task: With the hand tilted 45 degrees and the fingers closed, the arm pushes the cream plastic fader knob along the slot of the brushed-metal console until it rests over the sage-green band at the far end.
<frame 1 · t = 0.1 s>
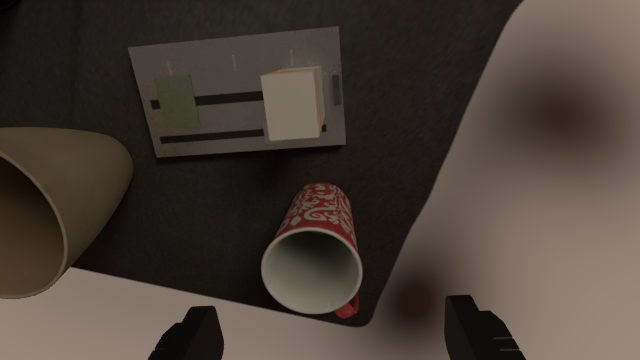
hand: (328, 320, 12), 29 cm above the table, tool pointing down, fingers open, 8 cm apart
mug: (326, 219, 43), on the table
console: (243, 95, 38), on the table
plant pot: (105, 162, 43), on the table
fader knob: (298, 98, 31), point 7 cm above the table, slide at 7.0 cm
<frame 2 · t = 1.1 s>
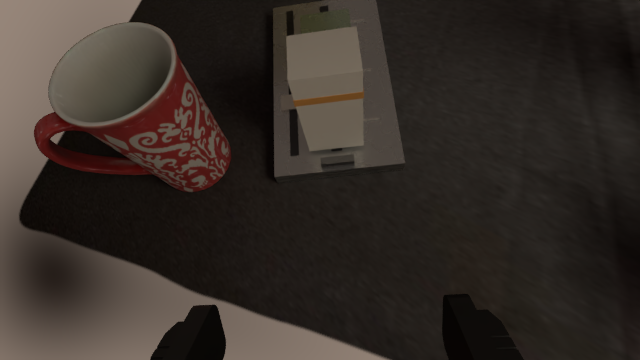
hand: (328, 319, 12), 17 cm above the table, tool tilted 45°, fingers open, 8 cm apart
mug: (183, 167, 36), on the table
console: (331, 84, 37), on the table
fader knob: (329, 97, 28), point 7 cm above the table, slide at 7.0 cm
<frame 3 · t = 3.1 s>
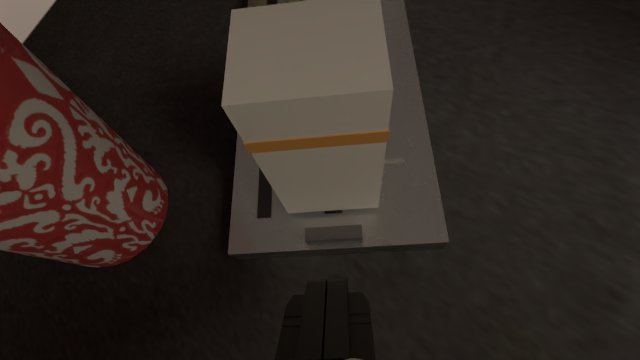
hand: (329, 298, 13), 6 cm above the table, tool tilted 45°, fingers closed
mug: (94, 223, 23), on the table
console: (329, 99, 24), on the table
fader knob: (321, 131, 15), point 7 cm above the table, slide at 7.0 cm
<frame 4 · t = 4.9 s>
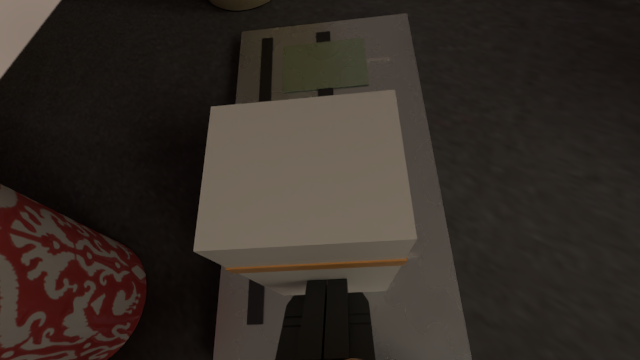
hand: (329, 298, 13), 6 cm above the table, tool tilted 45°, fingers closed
mug: (62, 313, 20), on the table
console: (330, 168, 22), on the table
fader knob: (322, 223, 13), point 7 cm above the table, slide at 5.7 cm, touching gripper
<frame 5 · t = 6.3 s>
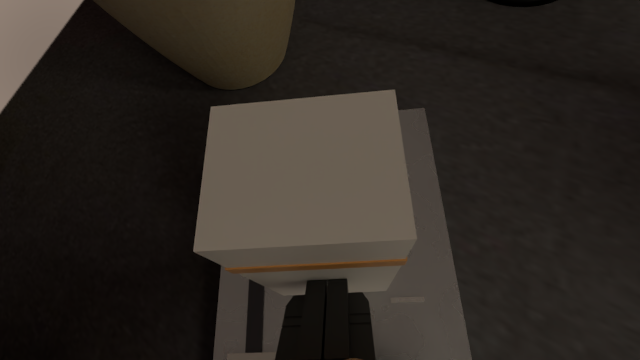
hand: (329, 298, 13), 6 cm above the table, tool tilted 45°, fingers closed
console: (337, 305, 18), on the table
plant pot: (239, 53, 27), on the table
fader knob: (322, 223, 13), point 7 cm above the table, slide at -2.4 cm, touching gripper
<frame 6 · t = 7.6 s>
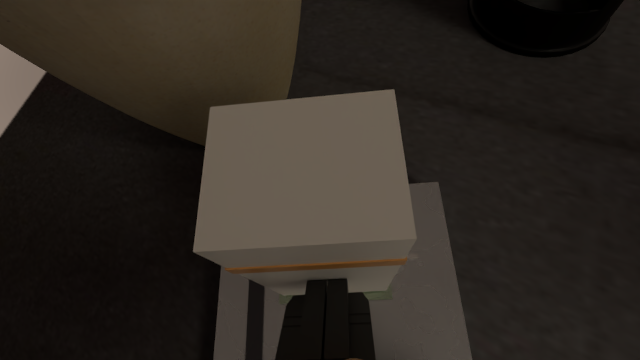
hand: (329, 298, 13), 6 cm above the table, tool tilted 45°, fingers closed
french press: (538, 7, 25), on the table
plant pot: (234, 105, 25), on the table
fader knob: (321, 223, 13), point 7 cm above the table, slide at -7.4 cm, touching gripper
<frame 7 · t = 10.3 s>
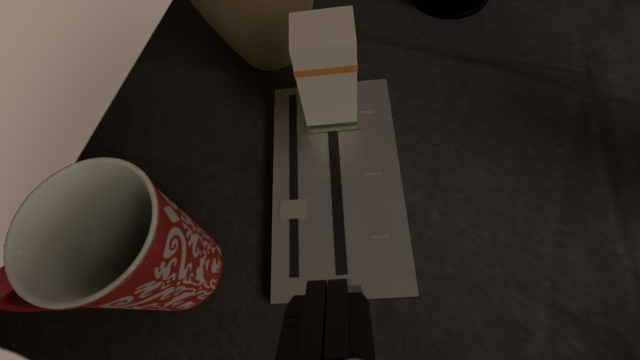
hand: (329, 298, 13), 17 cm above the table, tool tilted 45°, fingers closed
mug: (169, 276, 32), on the table
console: (336, 183, 34), on the table
plant pot: (273, 48, 42), on the table
fader knob: (327, 73, 30), point 7 cm above the table, slide at -7.6 cm
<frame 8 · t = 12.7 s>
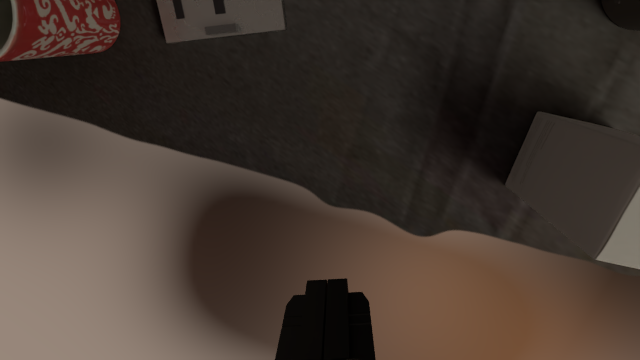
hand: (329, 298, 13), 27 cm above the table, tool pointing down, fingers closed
mug: (75, 23, 36), on the table
supplement box: (556, 158, 38), on the table
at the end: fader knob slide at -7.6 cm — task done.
